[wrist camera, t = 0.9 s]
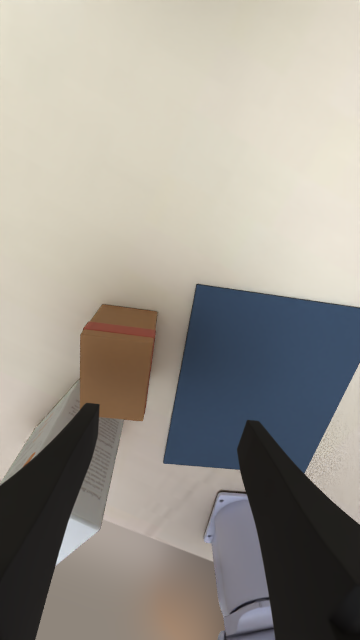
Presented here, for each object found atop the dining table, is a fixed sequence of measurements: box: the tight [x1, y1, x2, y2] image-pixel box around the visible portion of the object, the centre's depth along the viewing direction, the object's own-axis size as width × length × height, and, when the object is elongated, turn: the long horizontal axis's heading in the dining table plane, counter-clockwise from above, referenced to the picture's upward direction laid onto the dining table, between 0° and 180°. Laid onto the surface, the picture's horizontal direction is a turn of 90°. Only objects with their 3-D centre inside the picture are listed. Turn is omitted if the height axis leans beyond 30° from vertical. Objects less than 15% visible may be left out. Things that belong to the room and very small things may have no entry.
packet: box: [80, 304, 157, 421], centre depth 20 cm, size 7×5×6 cm
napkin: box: [163, 284, 360, 473], centre depth 25 cm, size 20×16×1 cm
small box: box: [0, 380, 124, 566], centre depth 20 cm, size 8×6×10 cm
